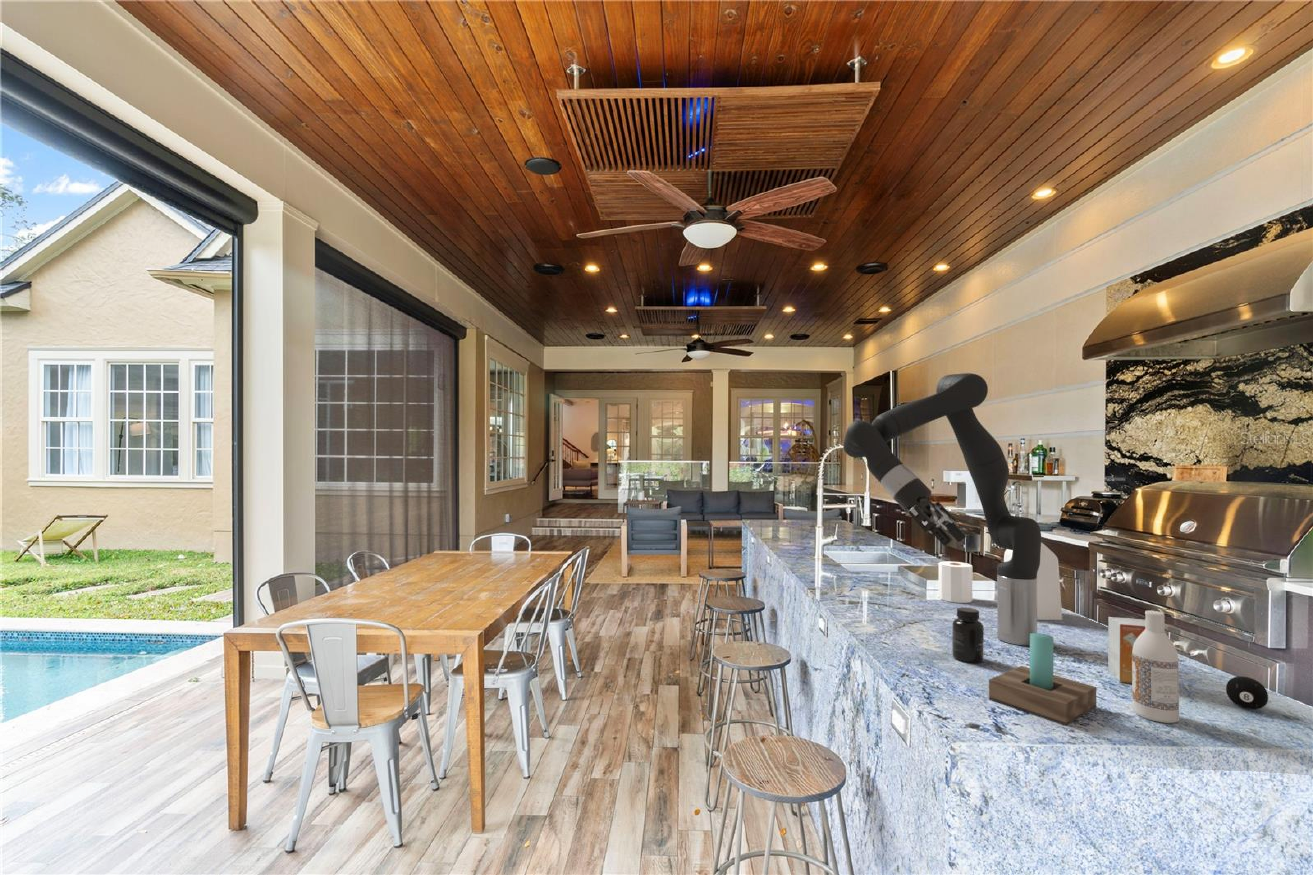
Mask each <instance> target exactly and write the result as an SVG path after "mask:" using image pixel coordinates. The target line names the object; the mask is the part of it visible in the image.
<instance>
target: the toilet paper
mask: <svg viewBox="0 0 1313 875" xmlns="http://www.w3.org/2000/svg"><path fill="white" fill-rule="evenodd" d="M973 592H974V591H973V565H972V564H969V563H966V562H962V561H951V560H950V561H947V560H946V561H940V562H938V598H939V599H941V600H942V601H946V602H950V603H957V604H958V603H959V604H966V603H967V604H968V603H971V602H973V599H974V598H973V595H974V594H973Z"/></svg>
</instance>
